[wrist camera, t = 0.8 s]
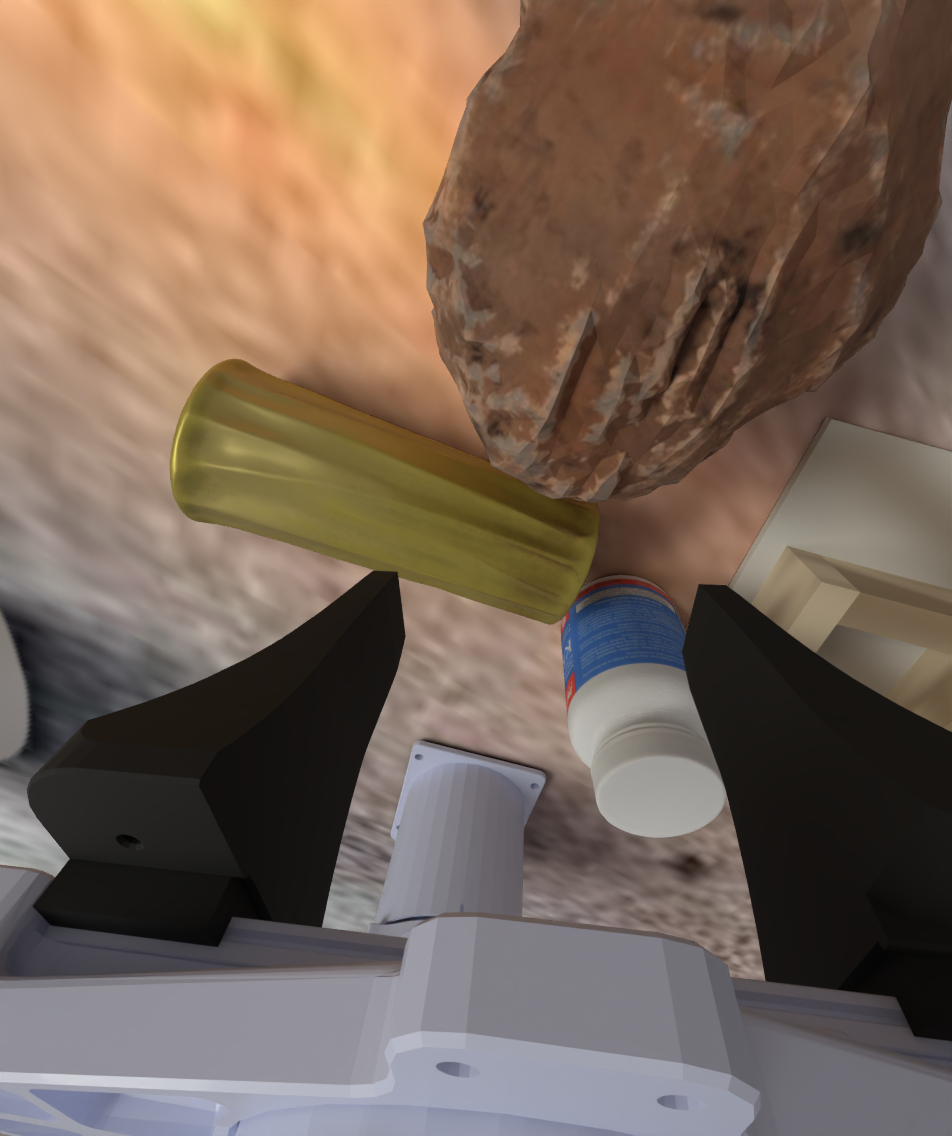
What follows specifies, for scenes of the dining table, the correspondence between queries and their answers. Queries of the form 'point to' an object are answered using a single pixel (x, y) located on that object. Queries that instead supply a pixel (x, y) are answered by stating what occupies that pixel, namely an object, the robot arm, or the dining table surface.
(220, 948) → the robot arm
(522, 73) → the decorative rock
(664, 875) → the dining table surface
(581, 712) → the pill bottle
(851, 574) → the socket block
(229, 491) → the vase
